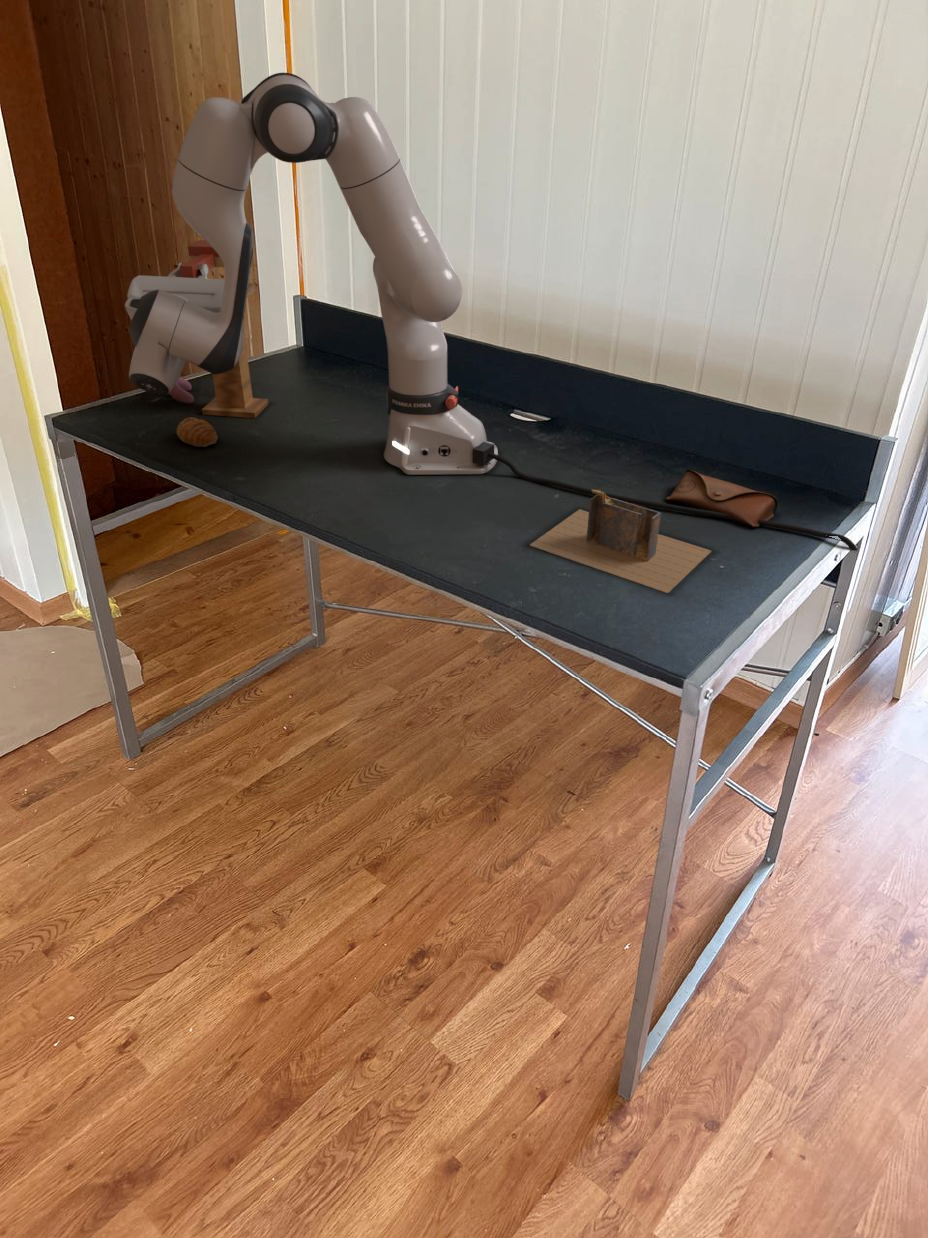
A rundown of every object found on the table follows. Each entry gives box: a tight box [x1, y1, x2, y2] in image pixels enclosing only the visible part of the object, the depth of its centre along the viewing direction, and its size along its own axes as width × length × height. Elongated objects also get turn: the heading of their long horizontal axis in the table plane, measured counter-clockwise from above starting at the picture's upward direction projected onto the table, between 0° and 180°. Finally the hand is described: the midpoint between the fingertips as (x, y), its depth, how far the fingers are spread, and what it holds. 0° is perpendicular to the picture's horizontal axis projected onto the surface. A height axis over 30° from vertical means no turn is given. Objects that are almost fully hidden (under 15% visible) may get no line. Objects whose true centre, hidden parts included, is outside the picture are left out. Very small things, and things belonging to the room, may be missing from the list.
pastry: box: [175, 416, 219, 448], centre depth 186 cm, size 9×7×4 cm
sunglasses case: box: [665, 469, 778, 528], centre depth 163 cm, size 18×7×7 cm, turn 52°
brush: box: [180, 239, 225, 278], centre depth 180 cm, size 8×17×4 cm, turn 171°
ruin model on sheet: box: [529, 488, 712, 594], centre depth 148 cm, size 25×16×10 cm, turn 54°
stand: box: [201, 282, 269, 419], centre depth 195 cm, size 12×9×26 cm
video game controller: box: [168, 376, 195, 404], centre depth 206 cm, size 10×5×7 cm, turn 17°
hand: (194, 265), depth 176 cm, fingers closed on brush, 2 cm apart
